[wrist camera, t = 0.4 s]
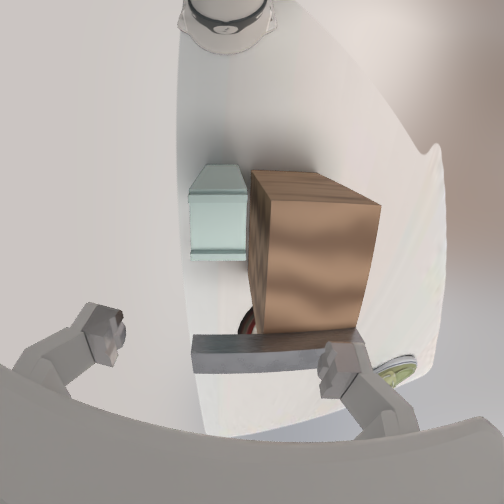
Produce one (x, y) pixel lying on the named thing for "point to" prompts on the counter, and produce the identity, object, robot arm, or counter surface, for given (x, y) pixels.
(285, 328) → the brown wooden block
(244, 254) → the socket post
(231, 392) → the counter surface
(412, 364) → the boat shoe
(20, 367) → the robot arm
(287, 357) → the bar
